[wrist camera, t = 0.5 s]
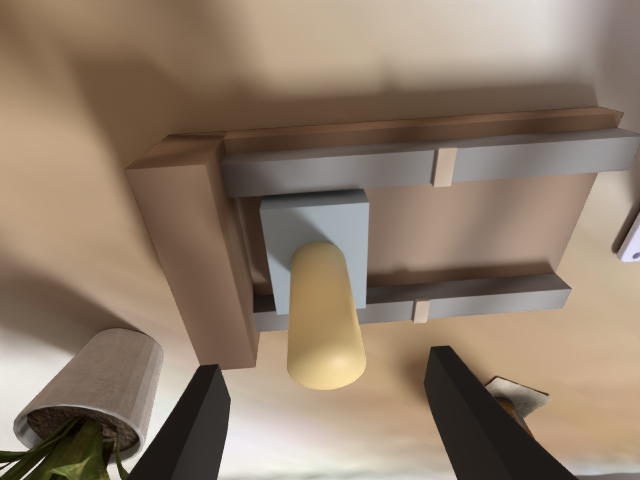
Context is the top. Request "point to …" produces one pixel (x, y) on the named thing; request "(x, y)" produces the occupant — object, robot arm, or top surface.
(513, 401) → the condiment
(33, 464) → the house plant
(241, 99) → the top surface
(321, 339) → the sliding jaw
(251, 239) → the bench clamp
